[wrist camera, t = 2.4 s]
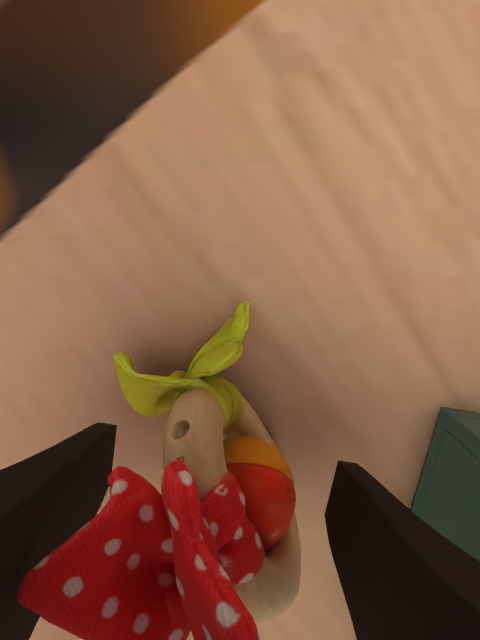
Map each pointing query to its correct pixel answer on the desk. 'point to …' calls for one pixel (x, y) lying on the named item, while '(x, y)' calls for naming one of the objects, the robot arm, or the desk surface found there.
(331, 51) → the desk surface
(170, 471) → the bird rattle
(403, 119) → the desk surface
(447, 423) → the open box
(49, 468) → the robot arm
